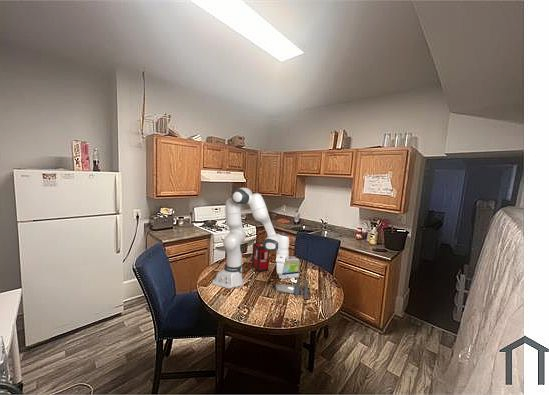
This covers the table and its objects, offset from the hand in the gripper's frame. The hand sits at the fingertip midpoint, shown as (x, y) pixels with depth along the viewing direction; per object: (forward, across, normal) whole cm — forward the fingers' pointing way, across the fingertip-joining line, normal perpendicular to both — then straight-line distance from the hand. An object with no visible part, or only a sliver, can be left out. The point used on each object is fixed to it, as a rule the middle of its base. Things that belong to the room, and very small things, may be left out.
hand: (281, 274), depth 158 cm
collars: (+12, 0, +16) cm, 20 cm away
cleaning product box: (+12, -33, -24) cm, 43 cm away
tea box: (+12, -25, +2) cm, 28 cm away
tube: (+12, 0, +6) cm, 13 cm away
